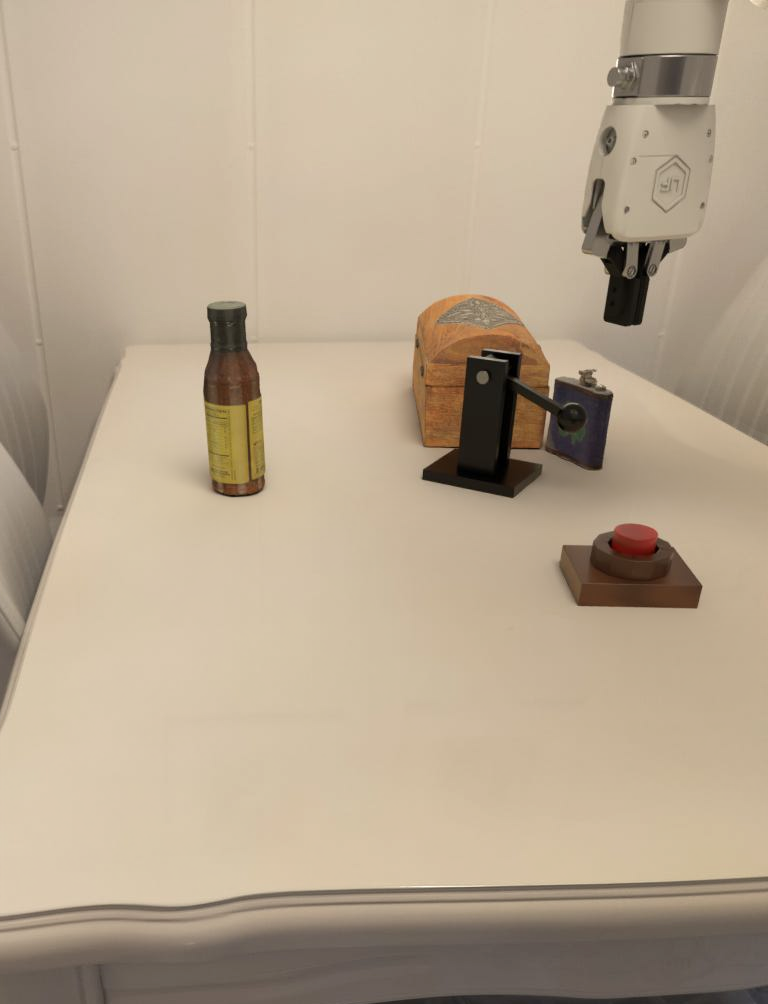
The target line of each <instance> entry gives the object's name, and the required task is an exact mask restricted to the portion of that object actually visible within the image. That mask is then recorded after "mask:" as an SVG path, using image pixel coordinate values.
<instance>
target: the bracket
mask: <svg viewBox="0 0 768 1004" xmlns="http://www.w3.org/2000/svg"><path fill="white" fill-rule="evenodd" d="M490 354H492V355H494V356H496V357H497V358H499V359H494V358H486V356H488V355H490ZM521 361H522V353H517V352H509V351H501V350H493V349H483V350H482V352H481V357H478V356H469V357H467V364H466V375H465V386H464V396H463V407H462V418H461V429H460V440H459V447H458V448H457V447H454V449H452V450H450V451H449V452H447V453H445V454H444V455H442V456H441V457H439V458H438V459H436V460H435V461H433V462H432V463H430V464H428V465H427V466H426V467H424V468H423V469H422V475H421V476H422V477H421V479H422V480H425V481H428V482H429V481H430V482H434V483H439V484H443V485H449V486H453V487H458V488H463V489H467V490H474V491H478V492H483V493H488V494H492V495H497V496H502V497H506V498H507V497H508V498H512V499H513V498H515V497H516V496H517V495H518V494H520V493H521V492H522V491H524V490H525V489H526V488H527V487H528V486H529V485H530V484H532V483H533V482H534V481H535V480H536V479H537V478H539V477H540V476H541V475H542V472H543V463H537V462H533V461H532V462H531V461H526V460H521V459H517V458H516V459H515V458H511V450H512V448H511V444H512V436H513V427H514V419H515V411H516V403H517V394H518V393H516V392H514V391H513V390H511V389H509V388H507V387H506V382H507V373H508V364H509V365H511V366H512V368H511V370H510V372H509V374H510V375H512V376H513V377H515V378H517V379H518V380H519V378H520V370H521Z"/></svg>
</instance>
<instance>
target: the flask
mask: <svg viewBox="0 0 768 1004" xmlns="http://www.w3.org/2000/svg"><path fill="white" fill-rule="evenodd" d="M597 371H598V370H597V369H596V368H592V369H591V368H589V369H584V370H581V369H579V370H578V374H579V375H580V377H579V379H578V378H575V377H570V376H569V377H568V376H558V377H556V378H555V379H554V384H553V393H552V400H554V401H556V402H557V403H559V404H561V405H563V406H564V405H566V404H568V403H578V404H580V405H582V406H583V407H584V408H585V410H586V411H587V415H588V420H587V423H586V425H585V427H584V428H583V429H582V430H581V431H579V432H577V433H573V434H568V433H565V432H563V431H562V430H560V429H559V427H558V425H557V422H556V416H555V415H553V414H551V413H550V412H549V414H550V415H549V424H548V428H547V435H546V441H545V449H546V451H547V452H548V453H550V454H555V455H556V456H558V457H559V458H561V459H563V460H566V461H567V460H568V461H571V463H573V464H577V466H581V467H582V468H584V469H586V470H590V471H599V470H602V469H603V465H604V457H605V450H606V445H607V438H608V430H609V425H610V419H611V412H612V405H613V401H614V393H613V391H612V390H611V389H608V388H607V386H605V385H604V384H601V383H600V384H599V385H598V380H597V378H596V377H593V374H594V373H596V372H597Z"/></svg>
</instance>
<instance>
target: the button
mask: <svg viewBox="0 0 768 1004" xmlns="http://www.w3.org/2000/svg"><path fill="white" fill-rule="evenodd" d="M613 531H614V533H613V538H612V544H611V548H612V549H614V550H616V551H618V552H620V553H624V554H629V555H633V556H648V555H652V554H654V552H655V548H656V543H657V538H659V532H658V531H657V530H656V529H655V528H652V527H650V526H648V525H644V524H641V523H632V522H631V523H630V522H629V523H628V522H627V523H621V524H618V525H616V526H614V529H613Z"/></svg>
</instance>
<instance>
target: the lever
mask: <svg viewBox="0 0 768 1004" xmlns="http://www.w3.org/2000/svg"><path fill="white" fill-rule="evenodd" d="M486 358H494V359H499V358H497V357H496V356H494V355H492V354H490V355H488V356H486ZM511 368H512V366H511V365H509V364H508V373H507V382H506V387H507V388H509V389H511V390H513V391H514V392H516V393H518V394H519V395H521V396H523V397H524V398H526V399H528V400H529V401H531V402H533V403H534V404H536V405H538V406H540V407H541V408H543V409H545V410H546V411H547V412H548V413H549V414H550V413H551V414H553V415H555V416H556V422H557V425H558V427H559V429H560V430H562V431H563V432H565V433H568V434H573V433H577V432H579V431H581V430H582V429H583V428H584V427H585V425H586V423H587V420H588V415H587V411H586V410H585V408H584V407H583V406H582V405H580V404H578V403H568V404H566V405H564V406H563V405H561V404H559V403H557V402H556V401H554V400H553V398H551V397H547V396H546V395H544V394H542V393H540V392H539V391H537V390H535V389H534V388H532V387H530V386H529V385H527V384H525V383H523V382H522V381H520V380H518V379H517V378H515V377H513V376H512V375H510V374H509V372H510V370H511Z"/></svg>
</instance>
